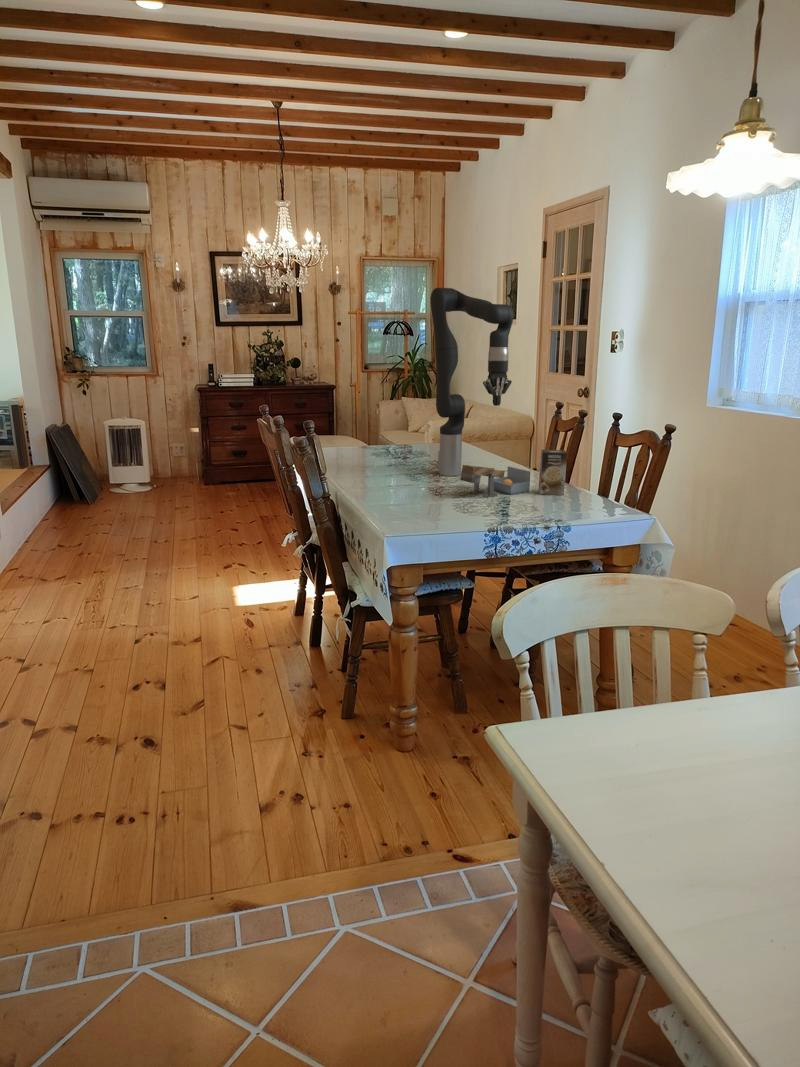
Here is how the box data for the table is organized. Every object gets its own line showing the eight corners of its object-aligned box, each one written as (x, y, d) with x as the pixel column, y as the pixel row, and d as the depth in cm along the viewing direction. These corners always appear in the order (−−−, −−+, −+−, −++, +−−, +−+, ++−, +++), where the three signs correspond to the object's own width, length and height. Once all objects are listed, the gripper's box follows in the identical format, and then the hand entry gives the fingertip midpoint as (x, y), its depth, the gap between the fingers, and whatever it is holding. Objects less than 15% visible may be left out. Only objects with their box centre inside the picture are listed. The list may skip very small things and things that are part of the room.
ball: (506, 476, 284) (509, 485, 286) (498, 481, 283) (501, 490, 285) (513, 478, 281) (516, 486, 283) (505, 483, 280) (508, 492, 282)
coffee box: (539, 494, 277) (541, 452, 273) (538, 491, 283) (540, 449, 279) (564, 495, 276) (567, 452, 272) (562, 491, 283) (565, 449, 278)
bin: (510, 495, 277) (511, 473, 275) (489, 489, 287) (490, 468, 285) (529, 492, 282) (530, 471, 280) (508, 486, 292) (508, 466, 289)
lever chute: (471, 482, 269) (473, 467, 268) (446, 475, 281) (448, 461, 280) (502, 485, 277) (504, 471, 276) (476, 478, 290) (478, 464, 289)
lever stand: (487, 498, 272) (488, 474, 269) (469, 492, 280) (469, 470, 278) (497, 496, 274) (498, 473, 272) (479, 491, 283) (480, 468, 281)
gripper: (505, 358, 288) (503, 403, 293) (478, 359, 282) (476, 405, 286) (518, 359, 282) (516, 405, 287) (491, 360, 275) (489, 407, 280)
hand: (496, 405), depth 287 cm, fingers closed
